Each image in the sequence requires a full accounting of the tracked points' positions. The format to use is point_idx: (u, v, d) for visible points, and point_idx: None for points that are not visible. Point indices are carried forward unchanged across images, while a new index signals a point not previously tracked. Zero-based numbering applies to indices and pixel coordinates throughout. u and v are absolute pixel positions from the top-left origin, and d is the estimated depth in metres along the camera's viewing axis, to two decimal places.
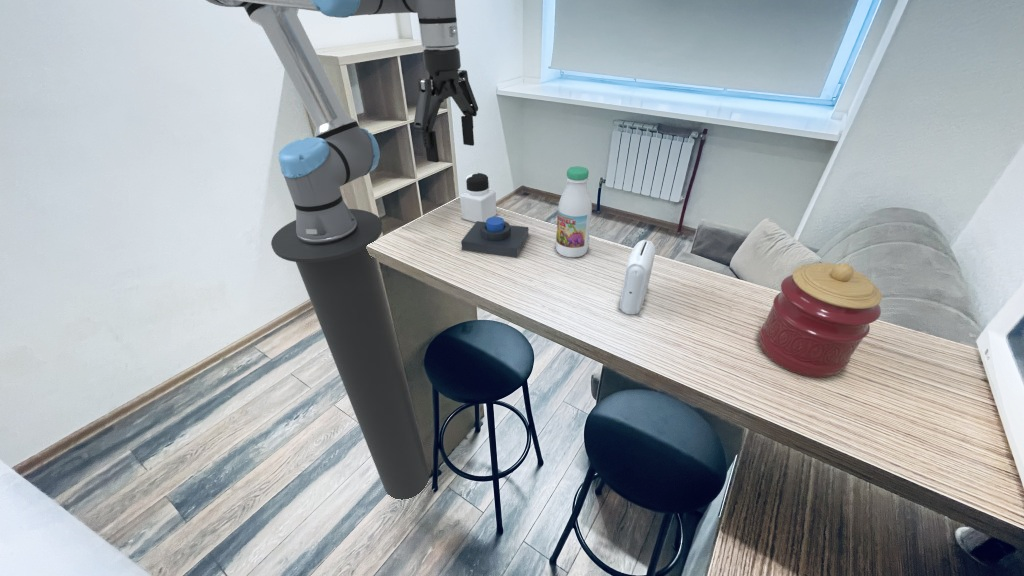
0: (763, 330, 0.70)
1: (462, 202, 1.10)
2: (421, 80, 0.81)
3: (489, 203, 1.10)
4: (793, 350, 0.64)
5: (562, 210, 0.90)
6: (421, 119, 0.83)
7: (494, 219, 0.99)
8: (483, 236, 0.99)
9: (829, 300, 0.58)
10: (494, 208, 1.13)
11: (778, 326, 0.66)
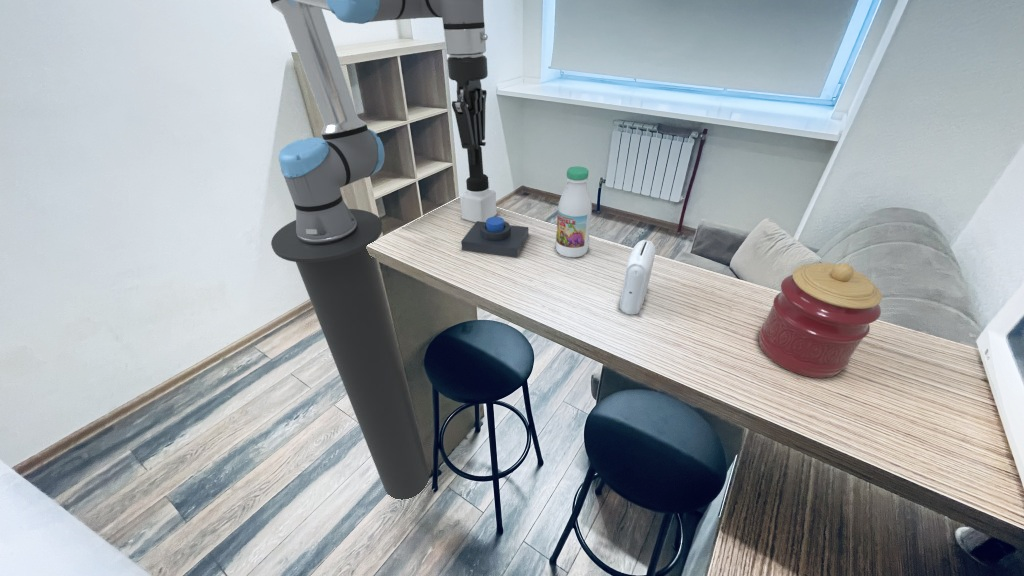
0: (763, 330, 0.70)
1: (462, 202, 1.10)
2: (455, 105, 0.76)
3: (489, 203, 1.10)
4: (793, 350, 0.64)
5: (562, 210, 0.90)
6: (468, 140, 0.81)
7: (494, 219, 0.99)
8: (483, 236, 0.99)
9: (829, 300, 0.58)
10: (494, 208, 1.13)
11: (778, 326, 0.66)
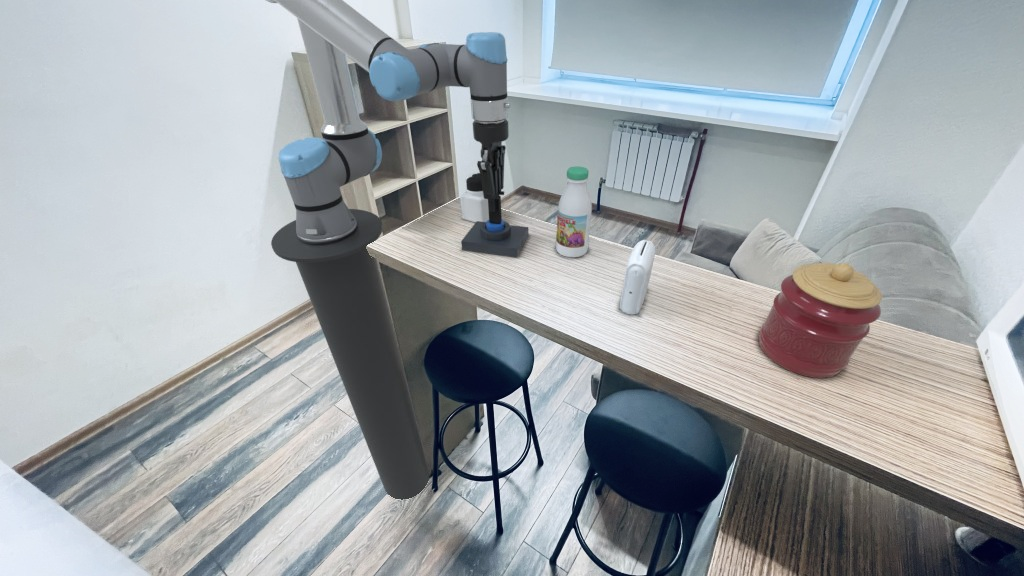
0: (763, 330, 0.70)
1: (462, 202, 1.10)
2: (480, 165, 0.85)
3: None
4: (793, 350, 0.64)
5: (562, 210, 0.90)
6: (490, 192, 0.90)
7: None
8: (483, 236, 0.99)
9: (829, 300, 0.58)
10: None
11: (778, 326, 0.66)
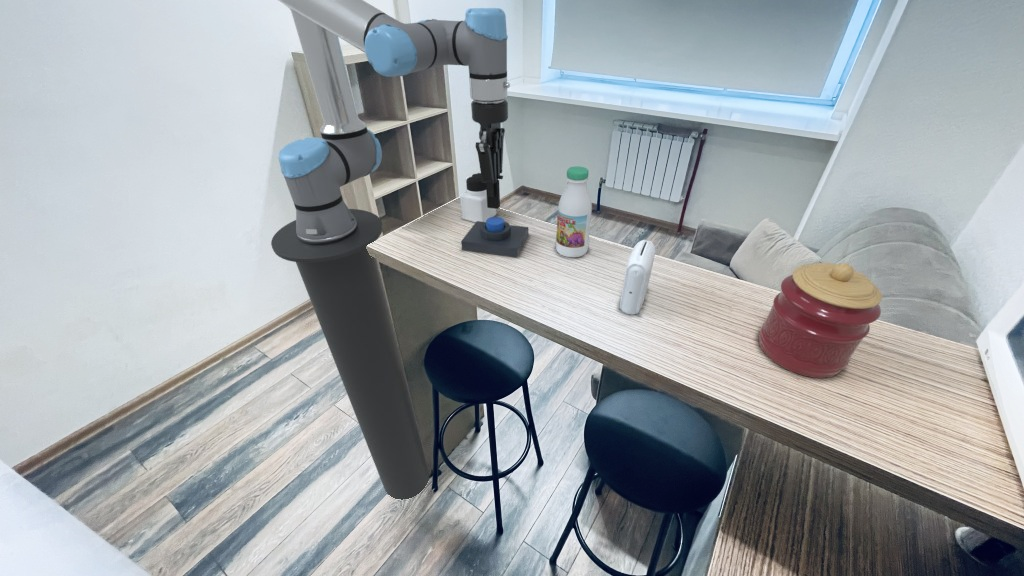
0: (763, 330, 0.70)
1: (462, 202, 1.10)
2: (479, 146, 0.82)
3: None
4: (793, 350, 0.64)
5: (562, 210, 0.90)
6: (489, 176, 0.88)
7: (494, 219, 0.99)
8: (483, 236, 0.99)
9: (829, 300, 0.58)
10: None
11: (778, 326, 0.66)
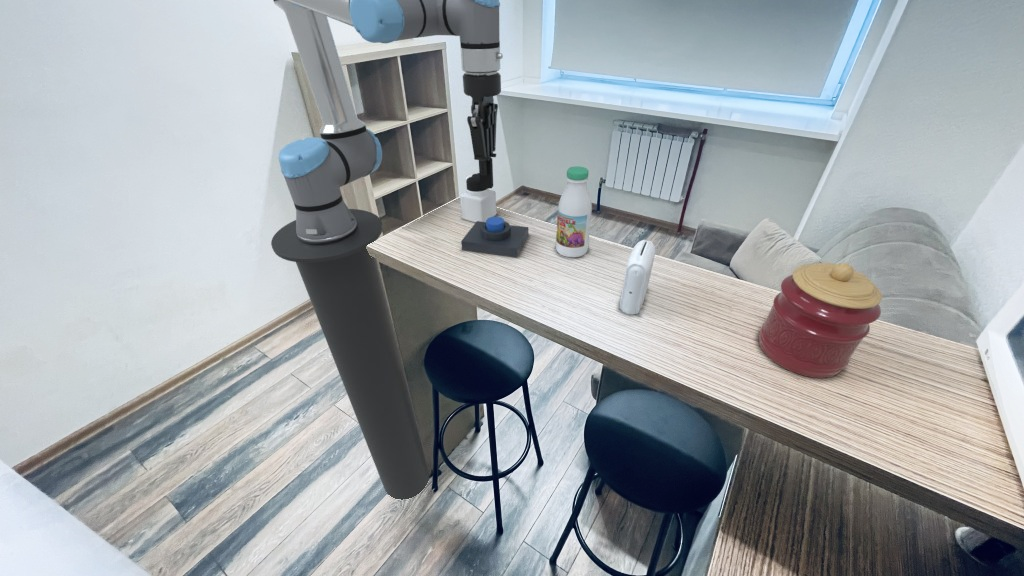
0: (763, 330, 0.70)
1: (462, 202, 1.10)
2: (471, 120, 0.80)
3: (489, 203, 1.10)
4: (793, 350, 0.64)
5: (562, 210, 0.90)
6: (481, 152, 0.85)
7: (494, 219, 0.99)
8: (483, 236, 0.99)
9: (829, 300, 0.58)
10: (494, 208, 1.13)
11: (778, 326, 0.66)
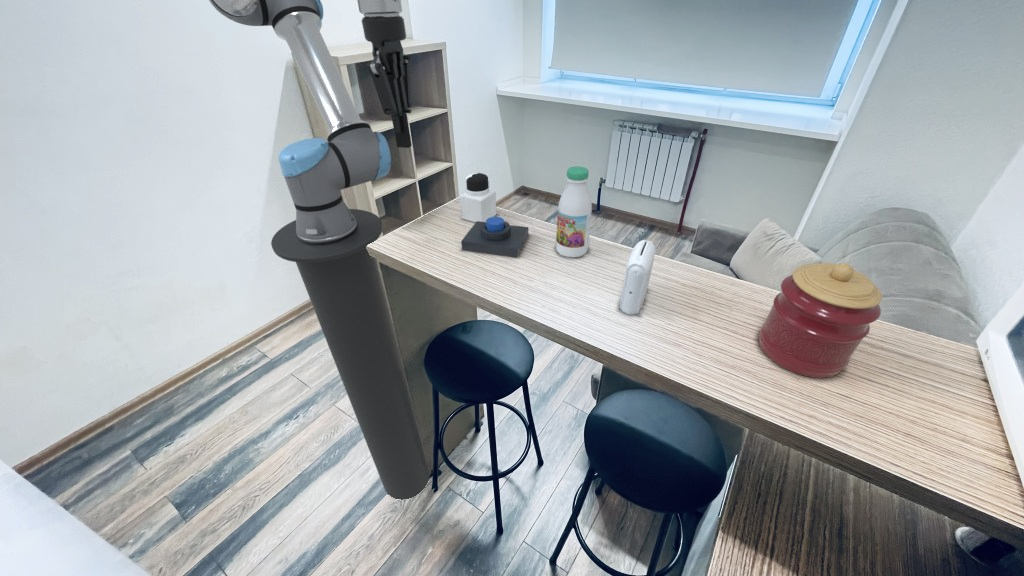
0: (763, 330, 0.70)
1: (462, 202, 1.10)
2: (370, 67, 0.74)
3: (489, 203, 1.10)
4: (793, 350, 0.64)
5: (562, 210, 0.90)
6: (389, 105, 0.79)
7: (494, 219, 0.99)
8: (483, 236, 0.99)
9: (829, 300, 0.58)
10: (494, 208, 1.13)
11: (778, 326, 0.66)
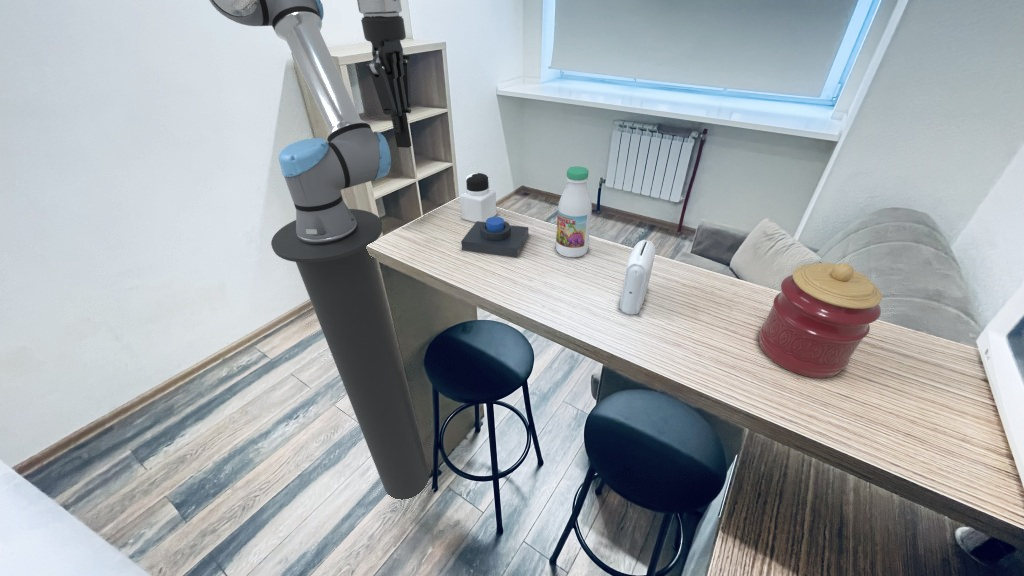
0: (763, 330, 0.70)
1: (462, 202, 1.10)
2: (370, 66, 0.74)
3: (489, 203, 1.10)
4: (793, 350, 0.64)
5: (562, 210, 0.90)
6: (389, 105, 0.79)
7: (494, 219, 0.99)
8: (483, 236, 0.99)
9: (829, 300, 0.58)
10: (494, 208, 1.13)
11: (778, 326, 0.66)
